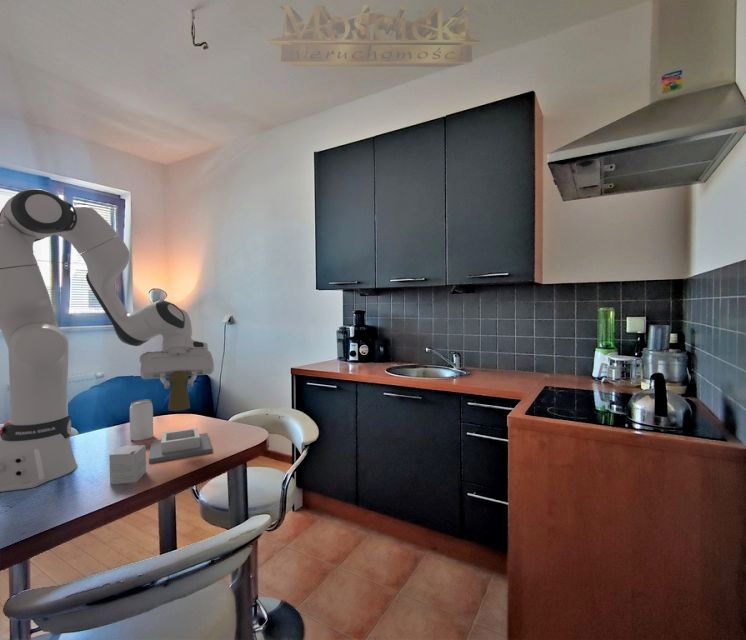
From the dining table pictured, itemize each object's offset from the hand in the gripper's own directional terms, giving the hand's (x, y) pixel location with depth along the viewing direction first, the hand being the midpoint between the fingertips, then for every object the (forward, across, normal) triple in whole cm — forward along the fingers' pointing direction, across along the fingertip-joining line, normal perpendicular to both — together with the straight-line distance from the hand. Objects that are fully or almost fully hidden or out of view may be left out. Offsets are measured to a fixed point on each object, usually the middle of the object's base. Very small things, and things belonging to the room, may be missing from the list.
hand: (179, 386), depth 114 cm
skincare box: (+25, -12, +3) cm, 27 cm away
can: (+1, -11, +26) cm, 28 cm away
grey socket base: (+13, 0, +14) cm, 19 cm away
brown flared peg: (+4, 0, +5) cm, 7 cm away
